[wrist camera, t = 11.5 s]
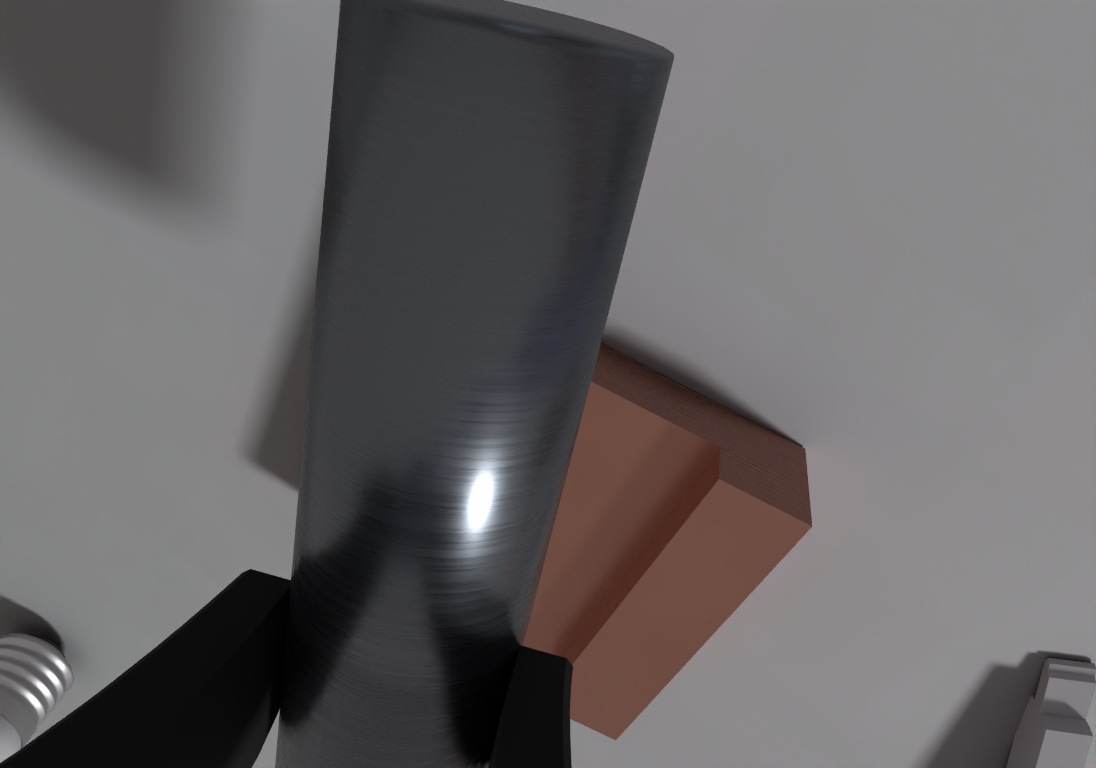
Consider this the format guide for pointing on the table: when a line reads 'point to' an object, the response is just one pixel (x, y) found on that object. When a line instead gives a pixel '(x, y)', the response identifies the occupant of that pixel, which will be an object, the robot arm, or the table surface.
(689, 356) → the table surface
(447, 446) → the axle
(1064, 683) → the caliper
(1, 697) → the lightbulb
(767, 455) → the v block
